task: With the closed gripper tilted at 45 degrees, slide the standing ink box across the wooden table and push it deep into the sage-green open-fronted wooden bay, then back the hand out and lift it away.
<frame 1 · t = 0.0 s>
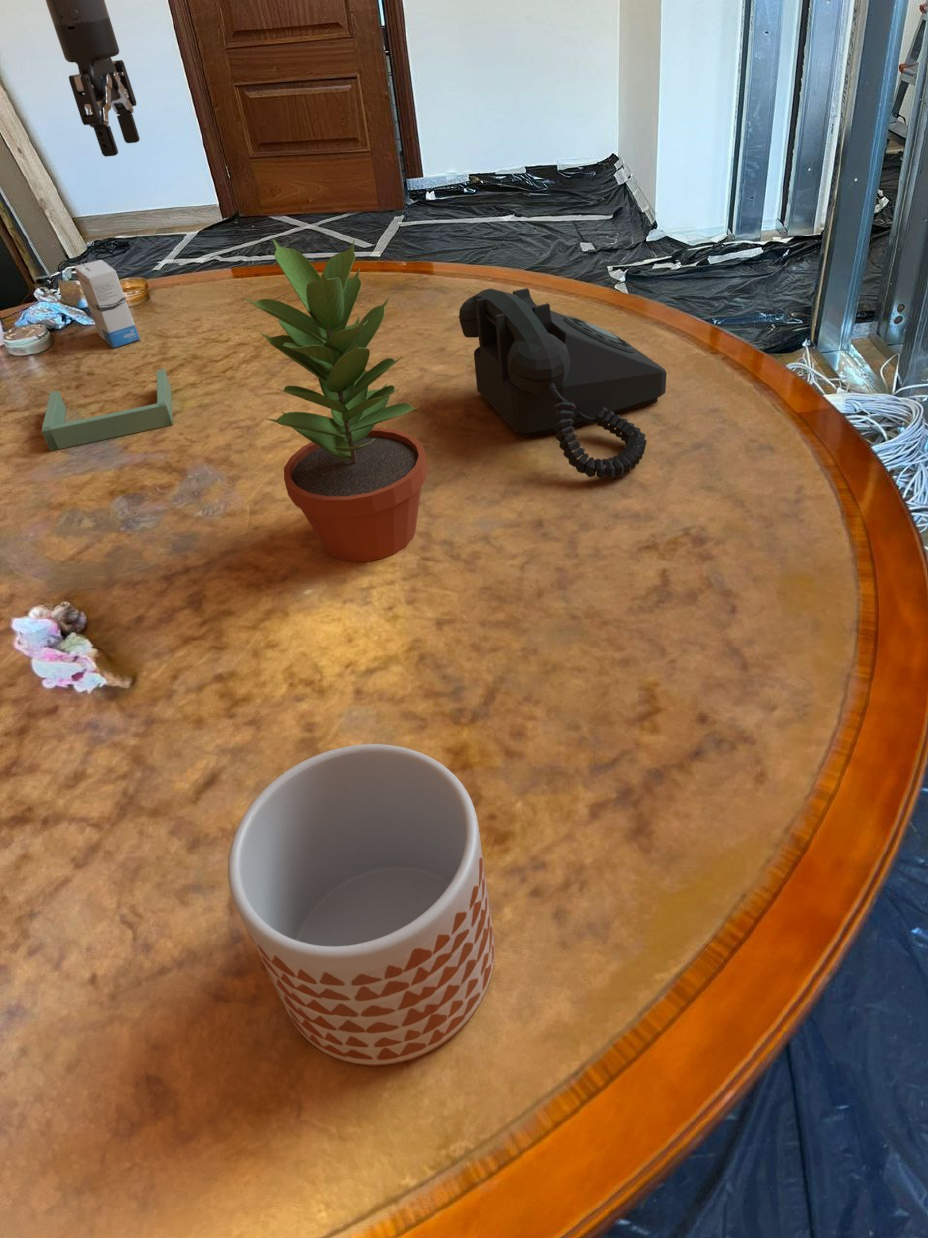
hand: (122, 148, 128), 28 cm above the table, tool pointing down, fingers open, 8 cm apart
potted plant: (373, 534, 92), on the table
bay: (114, 415, 122), on the table
ink box: (120, 339, 146), on the table
planter: (389, 958, 54), on the table
rotary telephone: (582, 415, 108), on the table
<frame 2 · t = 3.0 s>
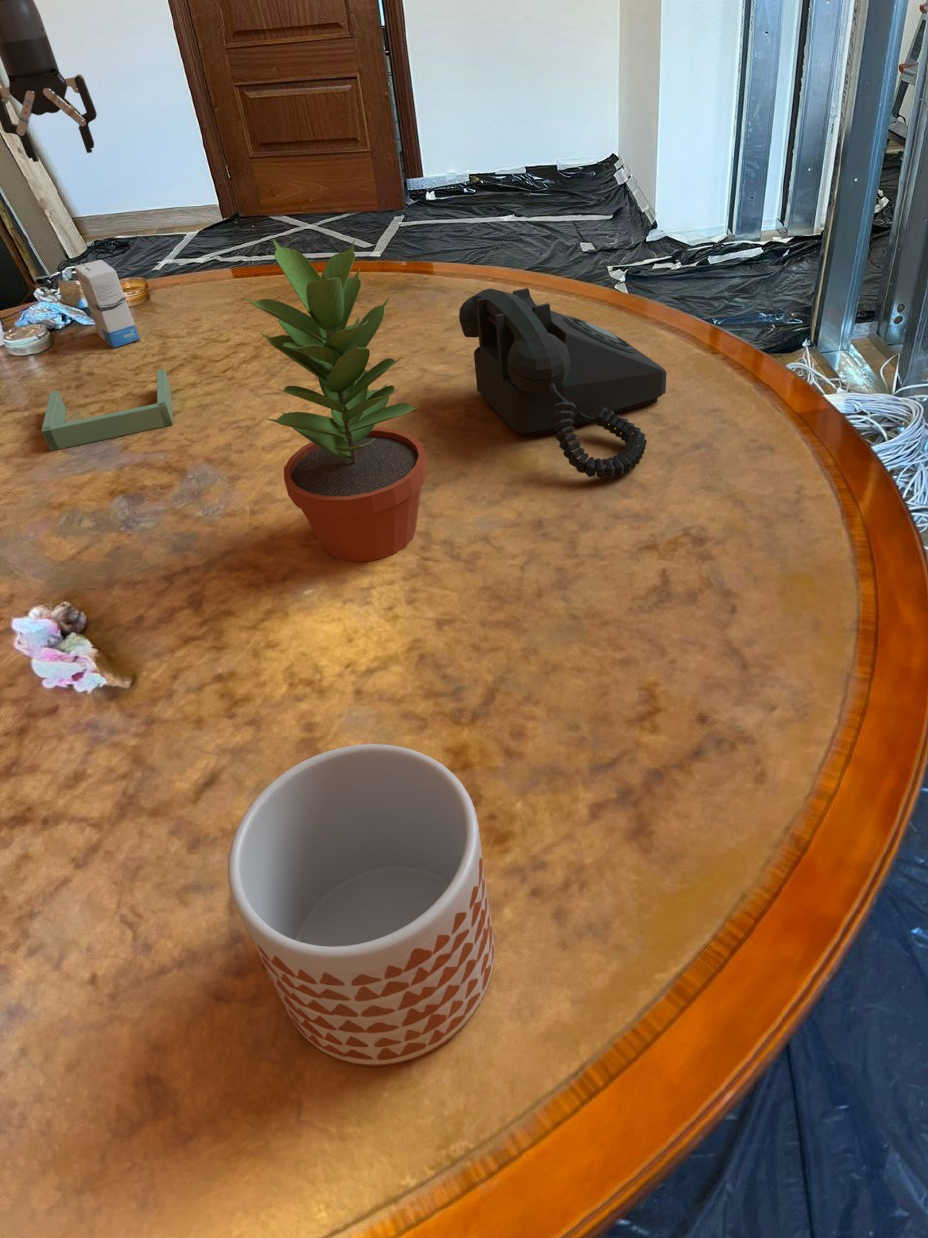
hand: (63, 156, 138), 26 cm above the table, tool pointing down, fingers open, 8 cm apart
nothing on the table moved.
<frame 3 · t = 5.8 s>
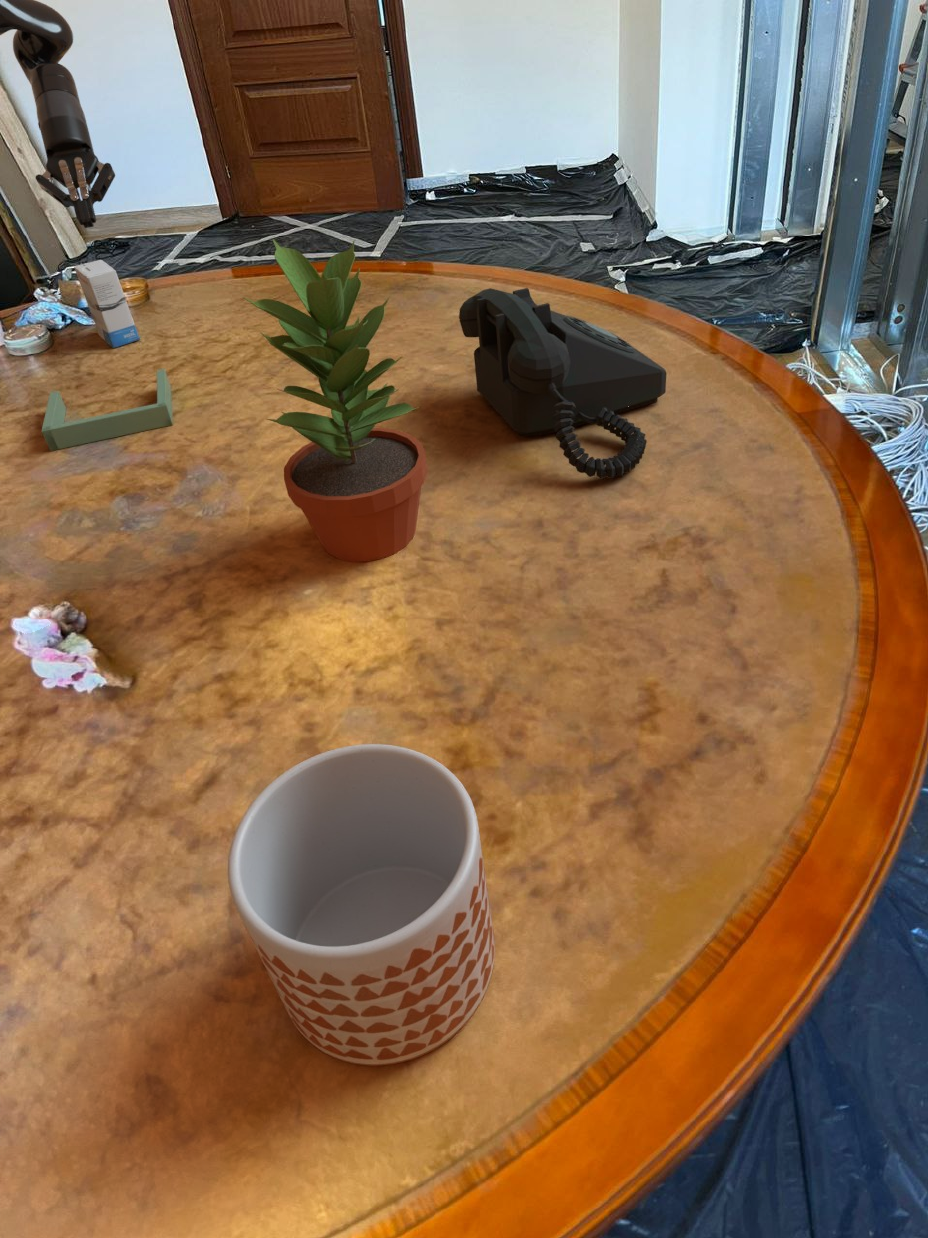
hand: (87, 224, 143), 16 cm above the table, tool tilted 45°, fingers closed
nothing on the table moved.
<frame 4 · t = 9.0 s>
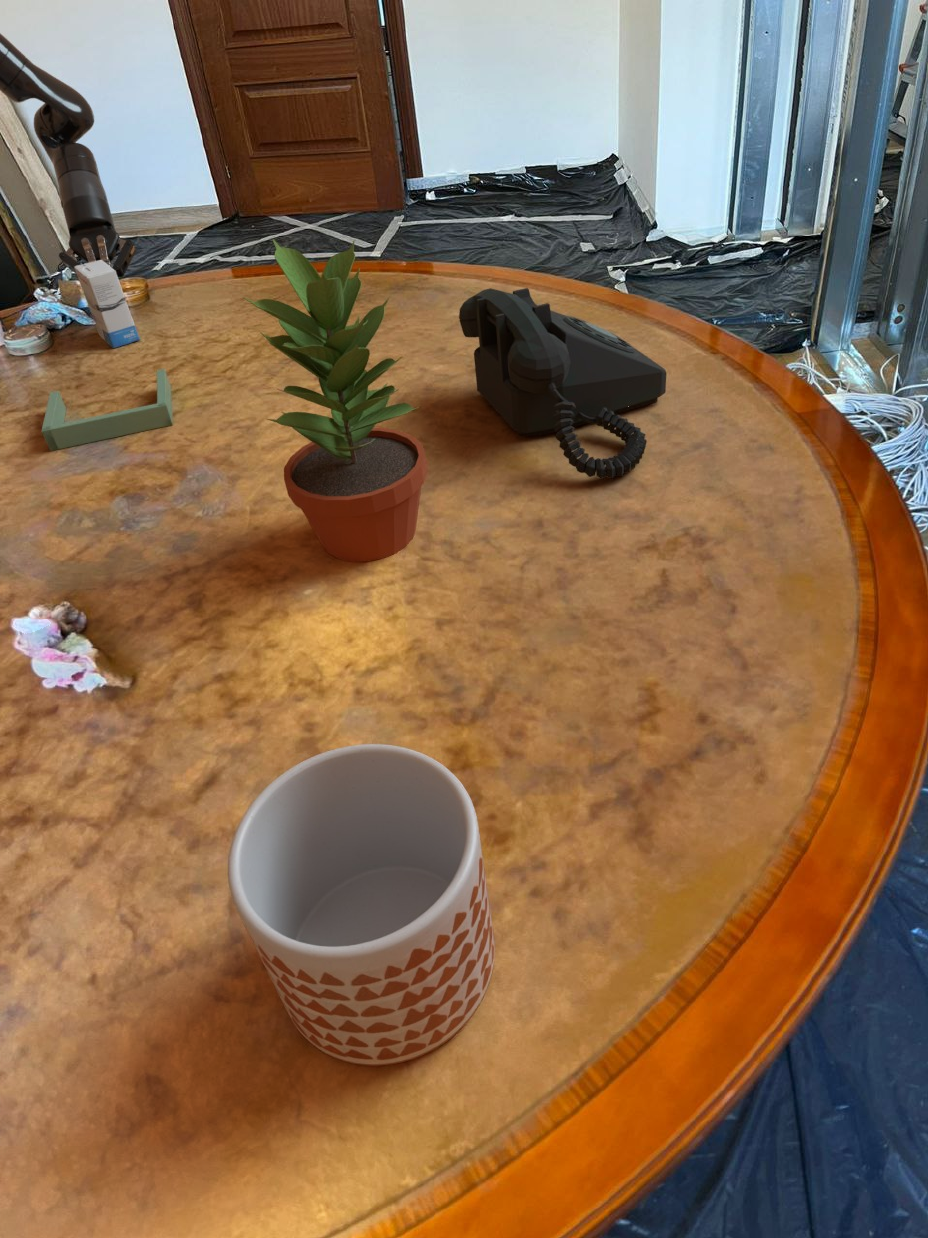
hand: (110, 300, 147), 5 cm above the table, tool tilted 45°, fingers closed
ink box: (120, 339, 146), on the table, touching gripper
everything else where it was.
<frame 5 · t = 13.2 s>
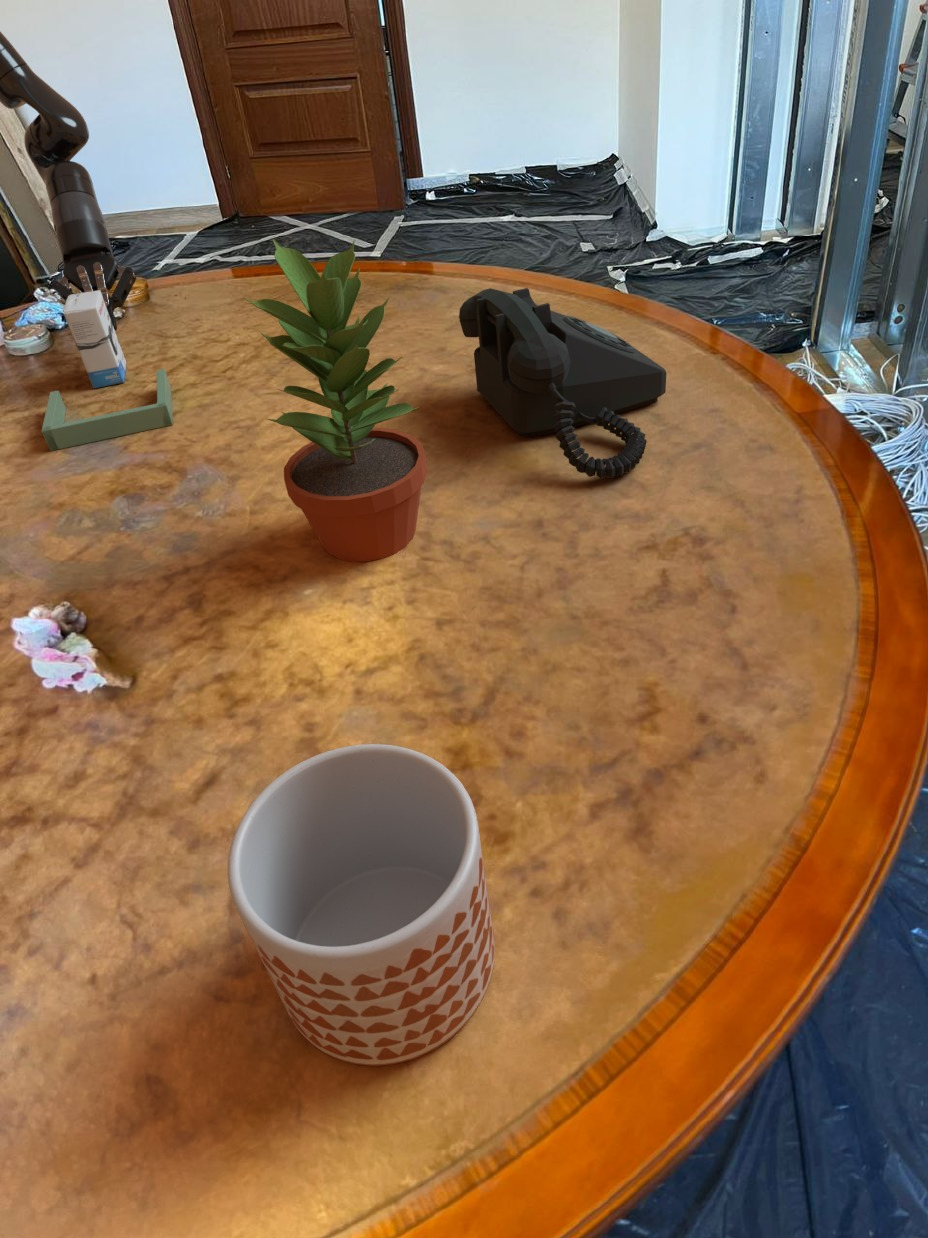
hand: (108, 333, 134), 5 cm above the table, tool tilted 45°, fingers closed
ink box: (111, 376, 133), on the table, touching gripper
everything else where it was.
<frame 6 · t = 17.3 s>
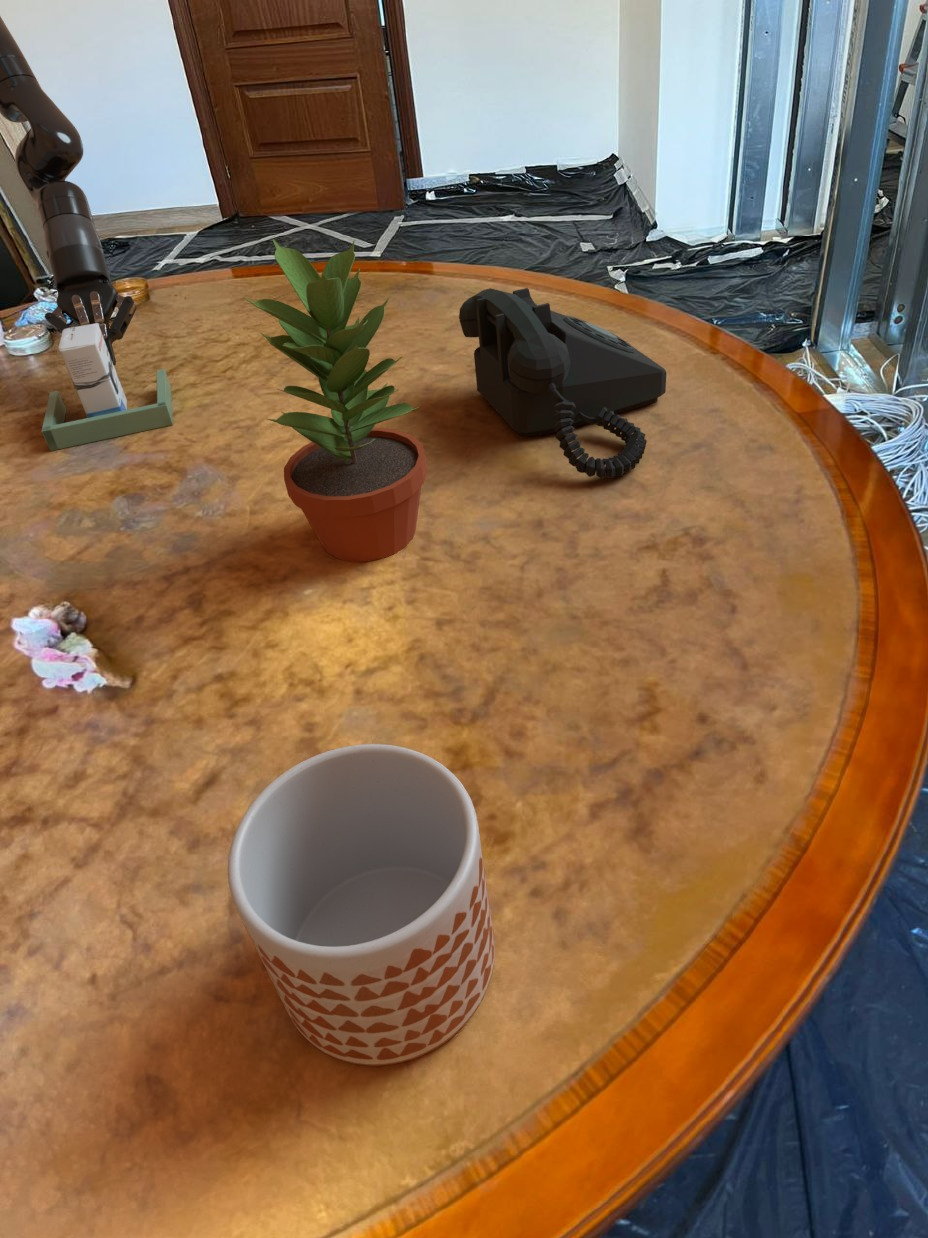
hand: (106, 368, 123), 5 cm above the table, tool tilted 45°, fingers closed
ink box: (111, 416, 122), on the table, touching gripper
everything else where it was.
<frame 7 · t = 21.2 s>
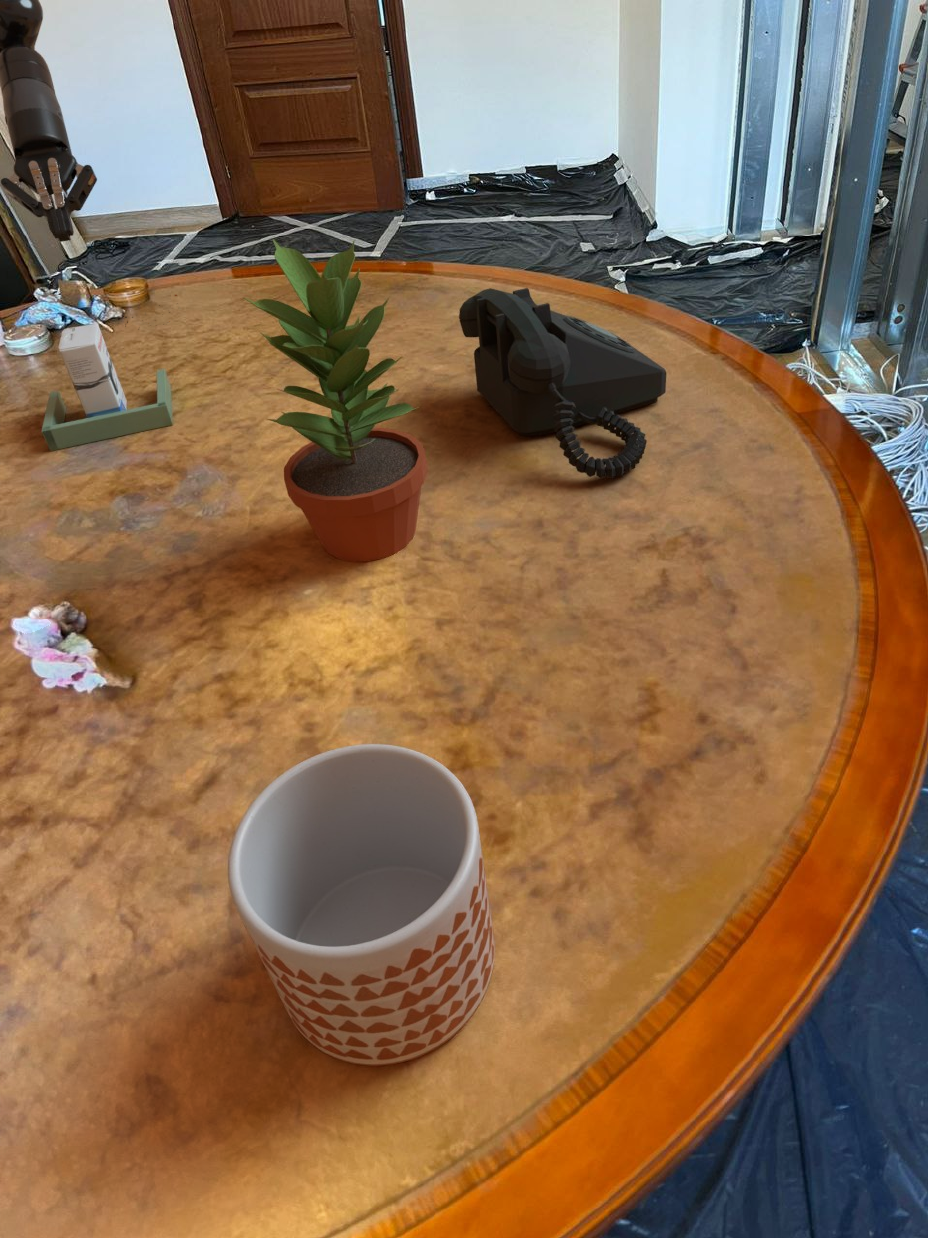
hand: (63, 237, 119), 21 cm above the table, tool tilted 45°, fingers closed
ink box: (110, 416, 122), on the table
everything else where it was.
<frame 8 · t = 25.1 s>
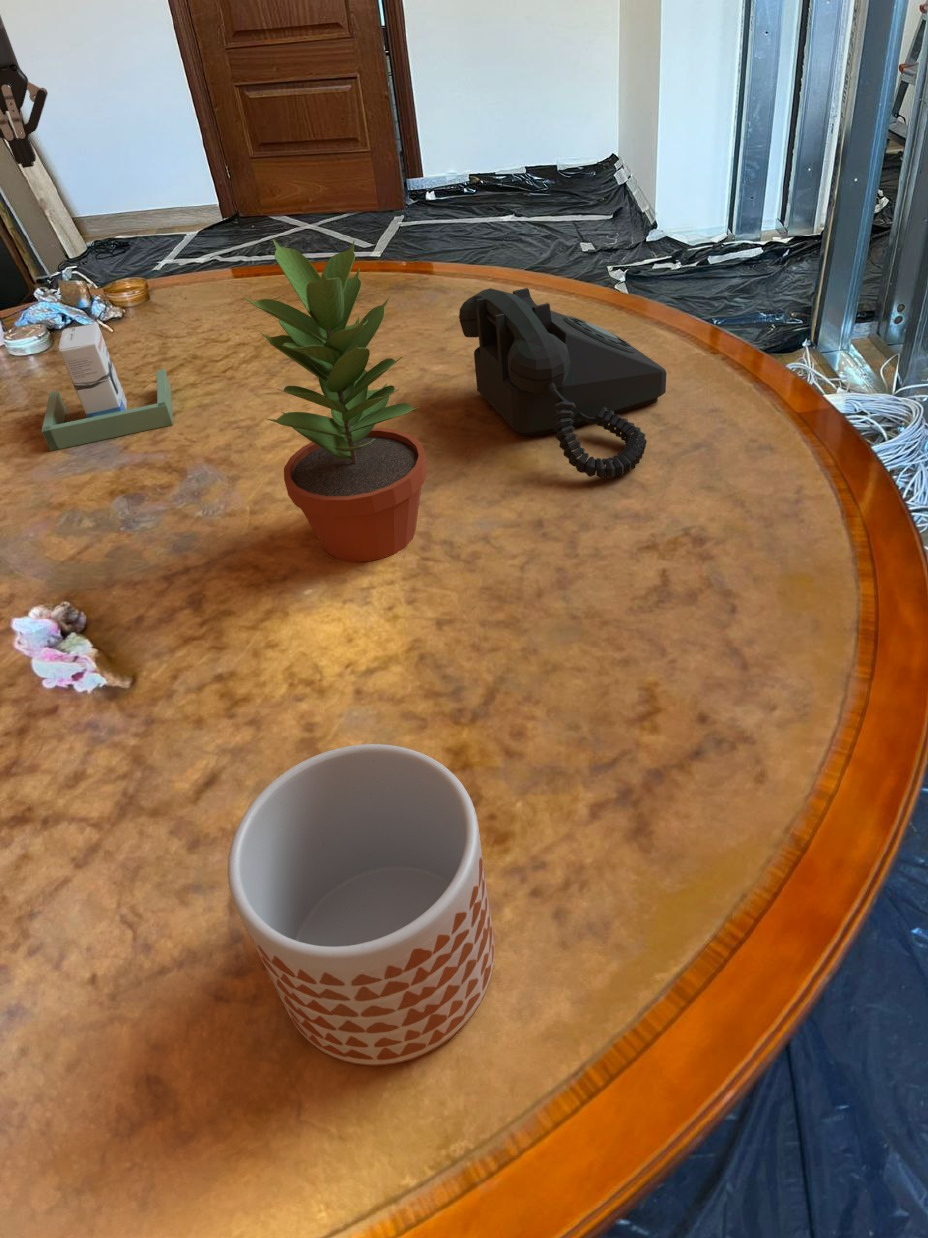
hand: (28, 165, 129), 27 cm above the table, tool pointing down, fingers closed
nothing on the table moved.
at the end: ink box inside the target area on the bay (0.6 cm from its centre), point 0.0 cm above the bay's base; ink box tilted 0°; ink box moved 31.8 cm from its start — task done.
